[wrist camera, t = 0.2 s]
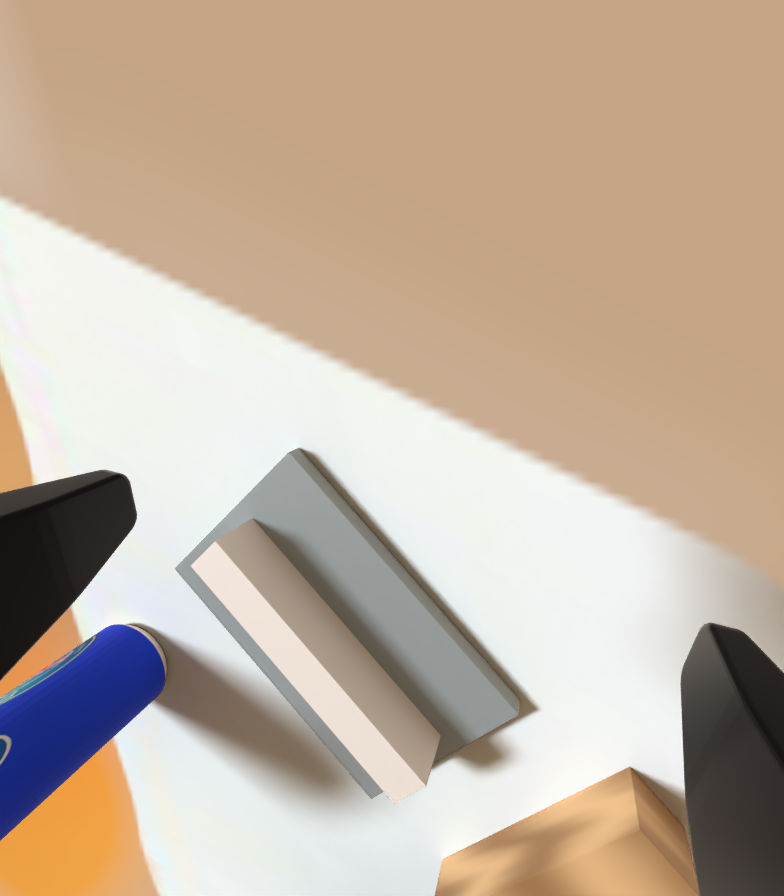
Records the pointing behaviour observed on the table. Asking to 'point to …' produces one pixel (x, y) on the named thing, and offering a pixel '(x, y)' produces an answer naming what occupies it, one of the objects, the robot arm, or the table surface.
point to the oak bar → (581, 849)
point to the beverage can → (72, 714)
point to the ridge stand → (345, 631)
